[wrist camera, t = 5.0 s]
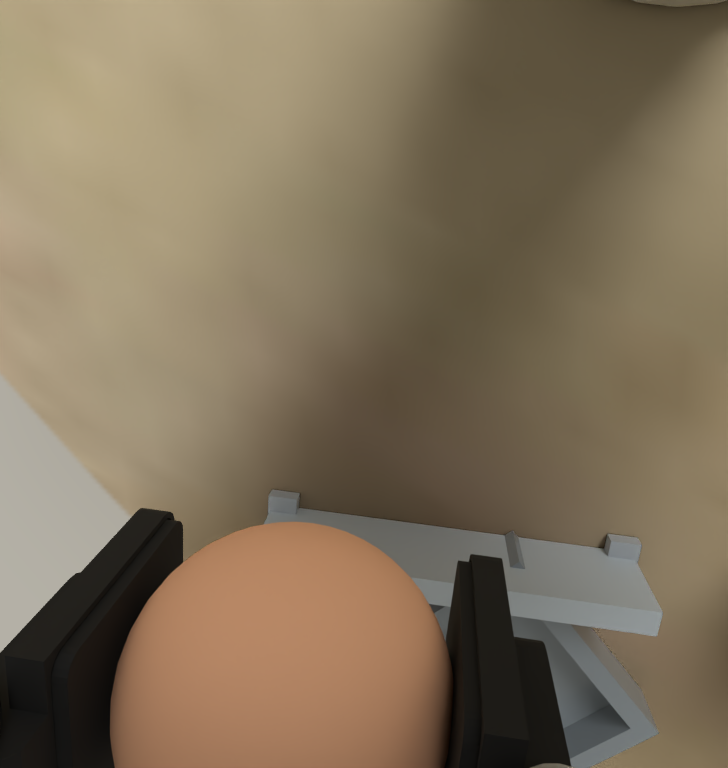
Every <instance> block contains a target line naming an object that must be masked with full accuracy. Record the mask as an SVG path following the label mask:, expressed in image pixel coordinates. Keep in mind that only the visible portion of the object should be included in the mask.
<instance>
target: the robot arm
mask: <svg viewBox="0 0 728 768" xmlns="http://www.w3.org/2000/svg"><path fill="white" fill-rule="evenodd" d="M633 1H636V2H639V3H648V4H656V5H664V6H672V7H682V6H694V5H705V4H716V3H720V2H723V1H727V0H633ZM182 563H183V525H182V523H181V522H180V521H175V520H174V516H173V514H172V513H171V512H167V511H159V510H152V509H145V508H141V509H139V510H138V511H137V512H136V513H135V514H134V515H133V516H132V517H131V519H130V520H129V521H128V522H127V523H126V524H125V525H124V526H123V527H122V528H121V529H120V531H119V532H118V533H117V534H116V535H115V536H114V537H113V538H112V539H111V540H110V541H109V543H108V544H107V545H106V546H105V547H104V548H103V549H102V550H101V551H100V552H99V553H98V554H97V555H96V557H95V558H94V559H93V560H92V561H91V562H90V563H89V564H88V565H87V566H86V567H85V568H84V570H83V571H82V572H81V573H76V574H75V575H74V576H72V577H71V578H70V579H69V580H68V581H67V582H66V583H65V584H64V585H63V586H62V587H61V588H60V590H59V591H58V592H57V593H56V594H55V595H54V596H53V597H52V598H51V599H50V600H49V601H48V602H47V603H46V605H45V606H44V607H43V608H42V609H41V610H40V611H39V612H38V613H37V614H36V615H35V616H34V617H33V618H32V620H31V621H30V622H29V623H28V624H27V625H26V626H25V627H24V628H23V629H22V630H21V631H20V633H18V634H17V636H16V637H15V638H14V639H13V640H12V641H11V642H10V643H9V644H8V645H7V646H6V647H5V648H4V650H3V651H2V652H1V653H0V768H115V766H114V760H113V755H112V748H111V740H110V706H111V695H112V690H113V684H114V679H115V674H116V669H117V665H118V661H119V659H120V656H121V653H122V651H123V648H124V645H125V643H126V640H127V638H128V635H129V632H130V630H131V628H132V626H133V625H134V623H135V621H136V620H137V618H138V616H139V614H140V613H141V611H142V609H143V608H144V606H145V604H146V603H147V601H148V599H149V598H150V597H151V596H152V595H153V593H154V592H155V591H156V590H157V589H158V588H159V586H160V585H161V584H162V583H163V582H164V580H165V579H166V578H167V577H168V576H169V574H171V573H172V572H173V571H174V570H175V569H176V568H177V567H179V566H180V565H181V564H182ZM445 642H446V645H447V648H448V652H449V657H450V661H451V665H452V673H453V707H452V721H451V732H450V741H449V749H448V755H447V759H446V763H445V767H444V768H575V767H572V766H571V762H570V757H569V752H568V748H567V743H566V738H565V734H564V729H563V724H562V720H561V715H560V710H559V706H558V701H557V696H556V692H555V687H554V682H553V678H552V673H551V668H550V664H549V659H548V654H547V650H546V647H545V644H544V642H543V641H540V640H533V639H526V638H519V637H514V634H513V627H512V620H511V613H510V607H509V600H508V593H507V587H506V580H505V573H504V567H503V561H502V558H497V557H490V556H483V555H476V554H471V555H470V558H469V562H467V561H459V560H458V563H457V568H456V575H455V581H454V588H453V594H452V601H451V608H450V614H449V621H448V628H447V634H446V641H445Z"/></svg>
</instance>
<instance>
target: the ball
mask: <svg viewBox="0 0 728 768" xmlns="http://www.w3.org/2000/svg"><path fill="white" fill-rule="evenodd" d="M452 707H453V673H452V665H451V661H450V657H449V652H448V648H447V645H446V642H445V638H444V635H443V632H442V630H441V628H440V625H439V623H438V620H437V618H436V616H435V614H434V612H433V611H432V609H431V607H430V605H429V604H428V602H427V600H426V598H425V597H424V595H423V593H422V592H421V590H420V589H419V588H418V586H417V585H416V584H415V583H414V581H413V580H412V579H411V577H410V576H409V575H408V574H407V573H406V572H405V571H404V570H403V569H402V568H401V567H400V566H399V565H398V564H397V563H396V562H395V561H394V560H392V559H391V558H390V557H389V556H387V555H386V554H385V553H384V552H382V551H381V550H380V549H378V548H377V547H375V546H373V545H372V544H370V543H368V542H367V541H365V540H363V539H361V538H359V537H357V536H355V535H353V534H350V533H348V532H346V531H342V530H339V529H336V528H333V527H330V526H325V525H320V524H315V523H306V522H276V523H270V524H264V525H258V526H252V527H249V528H246V529H242V530H239V531H236V532H234V533H231V534H229V535H227V536H225V537H222V538H220V539H218V540H216V541H214V542H212V543H210V544H208V545H207V546H205V547H204V548H202V549H201V550H199V551H197V552H196V553H194V554H193V555H192V556H191V557H189V558H188V559H187V560H186V561H184V562H183V563H182V564H181V565H180V566H179V567H177V568H176V569H175V570H174V571H173V572H172V573H171V574H169V576H168V577H167V578H166V579H165V580H164V582H163V583H162V584H161V585H160V586H159V588H158V589H157V590H156V591H155V592H154V593H153V595H152V596H151V597H150V598H149V599H148V601H147V603H146V604H145V606H144V608H143V609H142V611H141V613H140V614H139V616H138V618H137V620H136V621H135V623H134V625H133V626H132V628H131V630H130V632H129V635H128V638H127V640H126V643H125V645H124V648H123V651H122V653H121V656H120V659H119V661H118V665H117V669H116V674H115V679H114V684H113V690H112V695H111V706H110V740H111V748H112V755H113V760H114V766H115V768H444V767H445V763H446V759H447V755H448V749H449V741H450V732H451V721H452Z"/></svg>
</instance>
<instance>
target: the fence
mask: <svg viewBox="0 0 728 768" xmlns="http://www.w3.org/2000/svg"><path fill="white" fill-rule="evenodd" d="M299 499H300V493H295V492H288V491H280V490H273V489H272V491H271V492H270V494H269V499H268V516H267V518H266V520H265V522H264V524H270V523H276V522H306V523H315V524H320V525H325V526H330V527H333V528H336V529H339V530H342V531H346V532H348V533H350V534H353V535H355V536H357V537H359V538H361V539H363V540H365V541H367V542H368V543H370V544H372V545H373V546H375V547H377V548H378V549H380V550H381V551H382V552H384V553H385V554H386V555H387V556H389V557H390V558H391V559H392V560H394V561H395V562H396V563H397V564H398V565H399V566H400V567H401V568H402V569H403V570H404V571H405V572H406V573H407V574H408V575H409V576H410V577H411V579H412V580H413V581H414V583H415V584H416V585H417V586H418V588H419V589H420V590H421V592H422V593H423V595H424V597H425V598H426V600H427V602H428V604H434V605H441V606H448V607H451V601H452V594H453V588H454V581H455V575H456V568H457V563H458V560H459V561H467V562H469V558H470V555H471V554H476V555H483V556H490V557H497V558H502V561H503V567H504V573H505V580H506V587H507V593H508V600H509V607H510V613H511V616H518V617H525V618H532V619H538V620H545V621H552V622H559V623H566V624H573V625H580V626H587V627H594V628H601V629H608V630H615V631H622V632H629V633H636V634H643V635H650V636H657V634H658V630H659V626H660V623H661V619H662V615H663V612H662V610H661V608H660V606H659V604H658V602H657V600H656V598H655V596H654V594H653V592H652V591H651V589H650V587H649V585H648V583H647V581H646V579H645V577H644V575H643V573H642V571H641V569H640V568H639V566H638V560H639V556H640V551H641V547H642V544H641V543H640V541H639V539H638V538H637V537H629V536H622V535H614V534H607V539H606V543H605V548H604V549H603V548H595V547H588V546H580V545H573V544H566V543H558V542H551V541H543V540H536V539H528V538H521V537H518V538H519V542H520V547H521V551H522V556H523V560H524V565H525V569H520V568H512V567H510V563H509V557H508V552H507V547H506V541H505V536H504V535H498V534H491V533H483V532H476V531H468V530H461V529H453V528H446V527H438V526H431V525H423V524H416V523H408V522H401V521H393V520H386V519H379V518H371V517H364V516H356V515H349V514H341V513H334V512H326V511H319V510H311V509H304V508H299ZM264 524H263V525H264Z"/></svg>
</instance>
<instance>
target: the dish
mask: <svg viewBox="0 0 728 768" xmlns="http://www.w3.org/2000/svg"><path fill="white" fill-rule="evenodd" d="M504 536H505V541H506V547H507V552H508V557H509V563H510V567H512V568H520V569H525V565H524V560H523V556H522V551H521V547H520V542H519V538H518V536H517V535H516V534H515V532H514V531H513V530H512V531H511V532H509V533H507V534H506V535H504ZM429 605H430V607H431V609H432V611H433V612H434V614H435V616H436V618H437V620H438V623H439V625H440V628H441V630H442V632H443V635H444V638H445V641H446V634H447V628H448V621H449V614H450V608H451V607H448V606H441V605H434V604H429ZM511 620H512V627H513V634H514V637H519V638H526V639H533V640H540V641H543V642H544V644H545V647H546V650H547V654H548V659H549V664H550V668H551V673H552V678H553V682H554V687H555V692H556V696H557V701H558V706H559V710H560V715H561V720H562V724H563V729H564V734H565V738H566V743H567V748H568V752H569V757H570V762H571V766H572V767H575V768H590V767H592V766H594V765H596V764H598V763H600V762H602V761H604V760H606V759H608V758H610V757H612V756H614V755H616V754H618V753H620V752H622V751H624V750H626V749H629V748H631V747H633V746H635V745H637V744H639V743H641V742H643V741H645V740H647V739H649V738H651V737H653V736H655V735H657V734H659V732H658V729H657V727H656V724H655V722H654V719H653V717H652V714H651V712H650V709H649V707H648V704H647V702H646V699H645V697H644V694H643V692H642V690H641V688H640V687H639V686H638V685H637V683H636V682H635V681H634V680H633V679H632V677H631V676H630V675H629V674H628V672H627V671H626V670H625V669H624V667H623V666H622V665H621V664H620V662H619V661H618V660H617V659H616V657H615V656H614V655H613V654H612V653H611V651H610V650H609V649H608V648H607V646H606V645H605V644H604V643H603V641H602V640H601V639H600V638H599V636H598V635H597V634H596V633H595V631H594V630H593V629H592V628H591V627H587V626H580V625H573V624H566V623H559V622H552V621H545V620H538V619H532V618H525V617H518V616H511Z"/></svg>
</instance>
